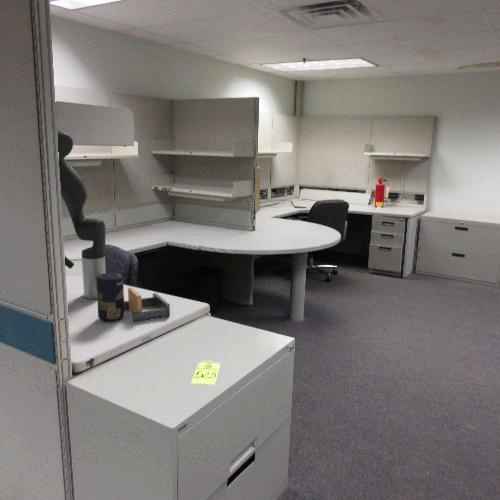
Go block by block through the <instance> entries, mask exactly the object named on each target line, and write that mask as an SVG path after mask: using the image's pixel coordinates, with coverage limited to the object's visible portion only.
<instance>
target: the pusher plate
mask: <svg viewBox="0 0 500 500" xmlns="http://www.w3.org/2000/svg"><path fill="white" fill-rule="evenodd" d="M127 293H128V301H129V310H128V311H129V312H130V313H135V312H141V311H143V308H142V303H141V299H142V295H141V294H140V293H139V292H138V291H137V290H136V289H135V288H134V287H130V286H129V287H127Z"/></svg>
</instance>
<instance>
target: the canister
mask: <svg viewBox="0 0 500 500" xmlns="http://www.w3.org/2000/svg"><path fill="white" fill-rule="evenodd" d="M96 281H97V299H96V301H97V317H98V319H99V320H100V321H102V322H107V323H112V322H118V321H120V320H122V319H123V318H124V317H125V311H124V301H125V293H124V290H125V288H124V276H123V275H122V274H121V273H118V272H106V273H104V274H100V275H99V276H97V279H96Z"/></svg>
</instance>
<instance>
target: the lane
mask: <svg viewBox="0 0 500 500" xmlns="http://www.w3.org/2000/svg"><path fill="white" fill-rule="evenodd" d="M141 303H142V309H144V307H145V308H149V307H150V306H151V307H154V308H155V309H149V310H142V311H141V312H135V313H132V312H131V313H132V323H133V324H136V323H142V322H147V321H146V320H148V321H152V320H151V319H154V320H158V319H157V318H160V319H163V318H162V317H165V318H169V317H168V316H170V317H171V310H170V309H171V308H170V307H171V305H170V303H169V302H168V301H166V300H165V299H164V298H162V296H160V295H159V294H158V293H157V292H153V293H152V296H150V297H143V298H142V297H141ZM151 307H150V308H151ZM126 311H130V310H129V300H124V312H126ZM141 321H142V322H141Z"/></svg>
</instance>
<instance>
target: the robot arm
mask: <svg viewBox="0 0 500 500" xmlns="http://www.w3.org/2000/svg"><path fill="white" fill-rule="evenodd" d="M57 130H58V129H57ZM73 148H74V141H73V138H72V136H71V135H70V133H67V132H64V131H62V130H58V152H59V167H60V182H61V193H60V195H61V198H62V200H63V202H64V204H65V206H66V208H67V211H68V213H69V216H70V219H71V223H72V225H73V228H74V233H76V236H77V238H78V239H79V240H81V241H85V242H86V241H87V242H89V241H90V242H92V246H90V247H86V248H84V249H82V250H81V265H82V268H81V269H82V281H83V282H82V283H83V286H82V287H83V297H84V298H85V299H91V300H94V299H95V300H97V281H96V279H97V276H99V275H100V274H104V273H107V271H106V269H107V268H106V224H105V222H104V220H103V219H100V218H87V217H86V216H85V215H84V211H83V210H84V206H85V203H86V201H87V198H88V193H87V188H86V187H85V184H84V182H83V180H82V179H83V178H81V176H80V175H79V174H78V173H77V171H76V170H75V169H74V168H73V167H72V166H71V165H70V163H69V162H68V161H67V160H66V157H67V156H68V155H70V154H71V152H72V150H73ZM64 266H66V267H67V268H69V270H71V269H72V268H73V267H74V266H75V263H74V262H73V261H72V260H70V259H69V258H68V257H67V256H66V255H65V265H64Z"/></svg>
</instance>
